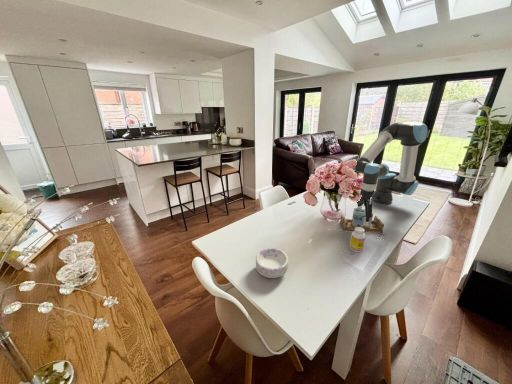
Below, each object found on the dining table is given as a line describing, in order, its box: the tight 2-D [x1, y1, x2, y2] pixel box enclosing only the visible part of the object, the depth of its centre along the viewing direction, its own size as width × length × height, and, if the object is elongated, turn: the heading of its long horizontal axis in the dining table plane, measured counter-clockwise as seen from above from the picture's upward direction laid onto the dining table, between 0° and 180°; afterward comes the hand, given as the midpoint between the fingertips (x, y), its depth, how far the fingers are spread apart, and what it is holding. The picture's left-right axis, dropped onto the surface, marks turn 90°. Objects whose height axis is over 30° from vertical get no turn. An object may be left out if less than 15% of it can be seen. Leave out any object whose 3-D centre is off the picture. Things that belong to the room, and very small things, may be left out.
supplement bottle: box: [349, 227, 366, 253], centre depth 113 cm, size 7×7×13 cm
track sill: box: [339, 213, 385, 234], centre depth 135 cm, size 11×22×6 cm, turn 83°
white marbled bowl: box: [255, 247, 289, 279], centre depth 99 cm, size 15×15×8 cm
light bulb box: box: [351, 207, 374, 228], centre depth 134 cm, size 11×7×11 cm, turn 72°
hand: (361, 220), depth 134 cm, fingers open, 13 cm apart
